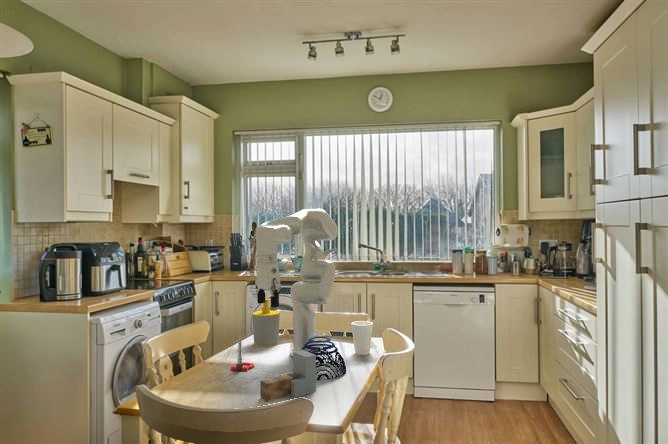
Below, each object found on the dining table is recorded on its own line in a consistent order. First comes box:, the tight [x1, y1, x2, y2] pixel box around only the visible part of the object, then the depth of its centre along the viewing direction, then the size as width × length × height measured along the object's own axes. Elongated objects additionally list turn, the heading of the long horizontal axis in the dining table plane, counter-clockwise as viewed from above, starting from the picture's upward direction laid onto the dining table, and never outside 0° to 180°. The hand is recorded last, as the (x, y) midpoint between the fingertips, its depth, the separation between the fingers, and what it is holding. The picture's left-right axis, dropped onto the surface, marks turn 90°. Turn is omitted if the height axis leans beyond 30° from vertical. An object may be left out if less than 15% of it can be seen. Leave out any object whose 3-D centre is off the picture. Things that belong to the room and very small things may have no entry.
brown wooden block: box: [259, 373, 299, 402], centre depth 148 cm, size 12×4×6 cm, turn 127°
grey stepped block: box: [279, 350, 317, 399], centre depth 152 cm, size 10×9×12 cm
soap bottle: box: [251, 298, 281, 348], centre depth 214 cm, size 13×13×21 cm
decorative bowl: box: [302, 332, 347, 381], centre depth 172 cm, size 20×20×14 cm
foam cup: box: [350, 320, 374, 356], centre depth 197 cm, size 10×9×13 cm
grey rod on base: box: [230, 336, 255, 372], centre depth 178 cm, size 8×13×9 cm
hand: (268, 304), depth 168 cm, fingers open, 9 cm apart
